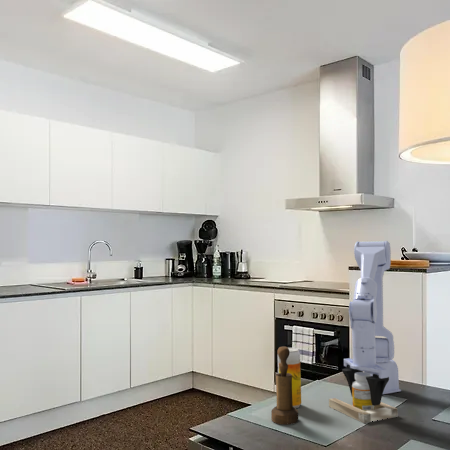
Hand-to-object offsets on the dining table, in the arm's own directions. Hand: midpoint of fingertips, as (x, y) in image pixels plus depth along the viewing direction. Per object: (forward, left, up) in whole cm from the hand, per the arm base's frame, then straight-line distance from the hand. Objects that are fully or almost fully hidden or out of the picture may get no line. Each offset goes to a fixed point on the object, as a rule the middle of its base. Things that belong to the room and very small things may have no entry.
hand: (365, 400), depth 125 cm
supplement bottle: (0, -1, -3) cm, 4 cm away
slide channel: (0, -2, -3) cm, 4 cm away
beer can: (+14, -14, -3) cm, 20 cm away
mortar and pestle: (+21, -5, -3) cm, 22 cm away
